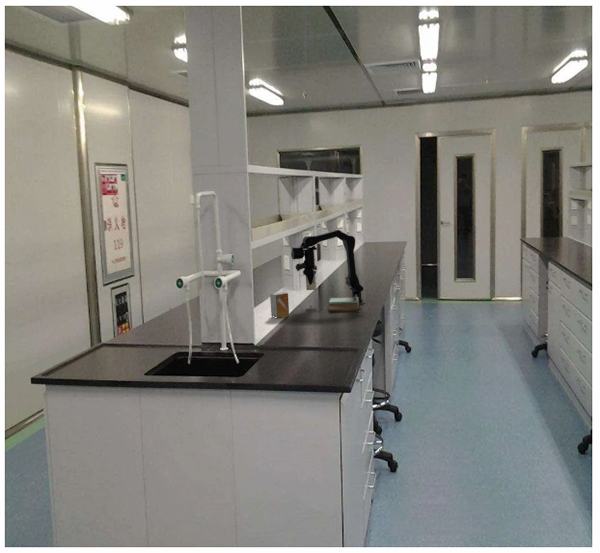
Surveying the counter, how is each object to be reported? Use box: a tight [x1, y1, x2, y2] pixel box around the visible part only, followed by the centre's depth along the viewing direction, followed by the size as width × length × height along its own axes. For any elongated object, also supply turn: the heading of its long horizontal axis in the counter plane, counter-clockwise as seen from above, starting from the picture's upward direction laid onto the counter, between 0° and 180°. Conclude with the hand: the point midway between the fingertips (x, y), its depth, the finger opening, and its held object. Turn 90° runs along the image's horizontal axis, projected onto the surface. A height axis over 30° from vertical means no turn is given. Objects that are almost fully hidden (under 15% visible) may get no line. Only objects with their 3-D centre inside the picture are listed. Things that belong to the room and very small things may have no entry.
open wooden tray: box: [328, 300, 360, 312], centre depth 336 cm, size 12×16×4 cm
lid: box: [328, 295, 359, 305], centre depth 335 cm, size 12×16×3 cm
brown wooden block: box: [305, 274, 317, 291], centre depth 349 cm, size 4×5×9 cm
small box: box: [269, 291, 290, 319], centre depth 325 cm, size 8×6×13 cm
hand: (311, 284), depth 349 cm, fingers closed on brown wooden block, 4 cm apart
